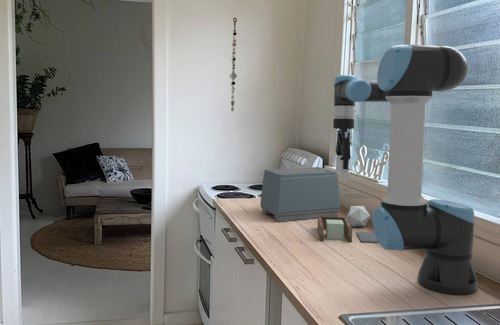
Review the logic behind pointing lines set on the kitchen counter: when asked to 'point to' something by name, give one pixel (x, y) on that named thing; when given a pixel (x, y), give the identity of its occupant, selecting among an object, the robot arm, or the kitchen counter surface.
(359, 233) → the mat
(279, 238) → the kitchen counter surface
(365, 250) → the kitchen counter surface
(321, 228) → the brown u-shaped bracket
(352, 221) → the die
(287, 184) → the toaster
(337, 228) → the block
